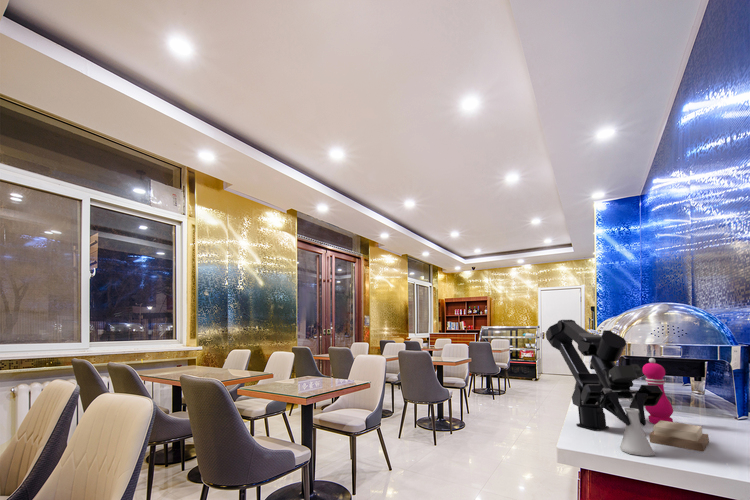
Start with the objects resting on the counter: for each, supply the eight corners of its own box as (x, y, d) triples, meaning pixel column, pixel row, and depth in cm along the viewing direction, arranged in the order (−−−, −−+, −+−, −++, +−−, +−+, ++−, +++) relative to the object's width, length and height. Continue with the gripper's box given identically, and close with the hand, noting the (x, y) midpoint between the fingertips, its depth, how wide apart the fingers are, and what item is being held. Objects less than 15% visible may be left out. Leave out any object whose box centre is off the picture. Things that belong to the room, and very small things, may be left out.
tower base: (649, 442, 101) (647, 426, 102) (659, 434, 109) (656, 419, 110) (703, 451, 94) (700, 434, 94) (709, 442, 101) (706, 426, 102)
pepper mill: (670, 421, 123) (660, 357, 127) (679, 427, 116) (669, 359, 120) (643, 419, 125) (635, 356, 129) (651, 425, 118) (642, 358, 122)
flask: (661, 458, 90) (655, 413, 92) (627, 456, 91) (621, 411, 93) (646, 448, 97) (641, 406, 99) (615, 446, 98) (610, 405, 100)
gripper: (580, 353, 103) (606, 404, 90) (653, 353, 101) (690, 405, 89) (571, 379, 109) (594, 431, 96) (639, 379, 108) (672, 432, 95)
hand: (636, 424), depth 94 cm, fingers open, 3 cm apart
